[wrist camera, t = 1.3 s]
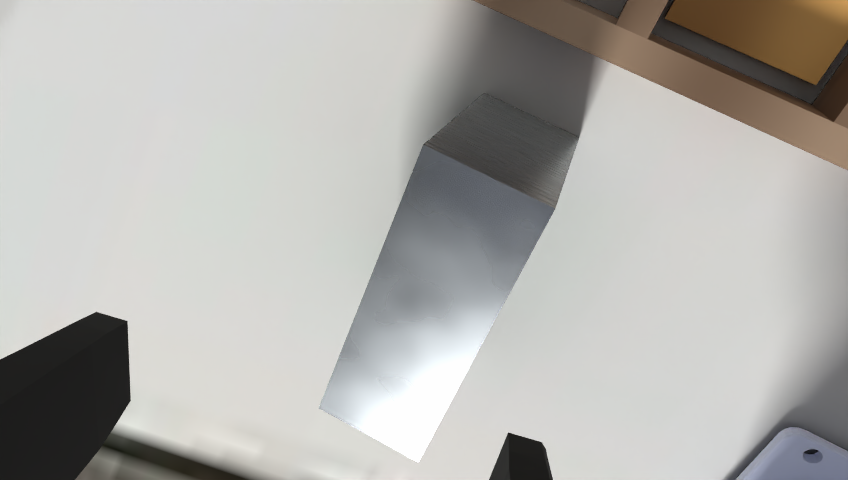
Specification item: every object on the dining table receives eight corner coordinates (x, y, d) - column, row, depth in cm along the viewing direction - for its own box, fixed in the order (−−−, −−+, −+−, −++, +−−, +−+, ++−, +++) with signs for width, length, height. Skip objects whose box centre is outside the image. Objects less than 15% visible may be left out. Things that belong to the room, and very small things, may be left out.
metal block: (579, 136, 18) (555, 208, 13) (470, 342, 22) (418, 462, 17) (485, 92, 18) (423, 144, 13) (394, 302, 22) (318, 408, 17)
